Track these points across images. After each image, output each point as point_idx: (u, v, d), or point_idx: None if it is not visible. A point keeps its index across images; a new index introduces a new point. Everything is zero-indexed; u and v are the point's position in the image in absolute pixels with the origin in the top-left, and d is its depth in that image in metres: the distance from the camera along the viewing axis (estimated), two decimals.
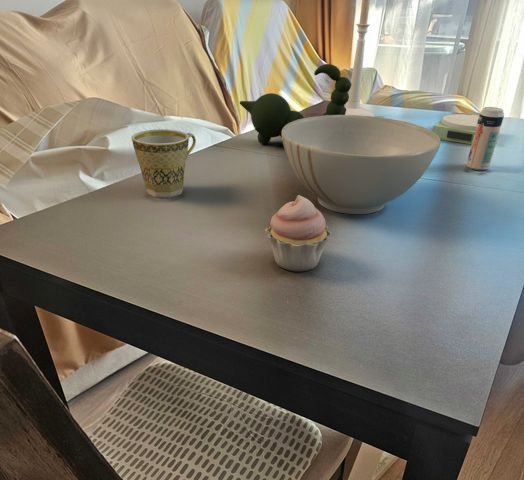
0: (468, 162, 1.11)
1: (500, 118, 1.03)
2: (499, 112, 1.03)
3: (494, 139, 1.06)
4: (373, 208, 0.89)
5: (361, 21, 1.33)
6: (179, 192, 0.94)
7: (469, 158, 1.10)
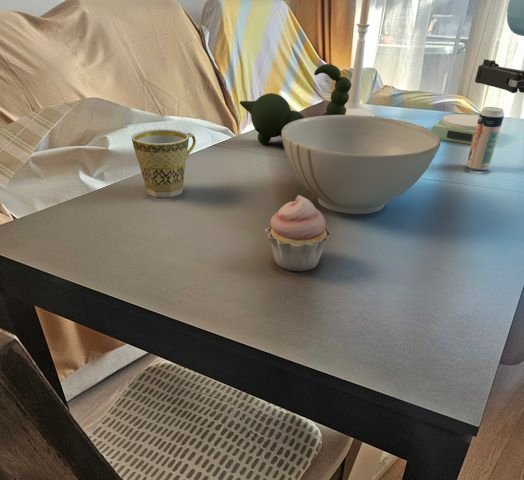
0: (468, 162, 1.11)
1: (500, 118, 1.03)
2: (499, 112, 1.03)
3: (494, 139, 1.06)
4: (373, 208, 0.89)
5: (361, 21, 1.33)
6: (179, 192, 0.94)
7: (469, 158, 1.10)
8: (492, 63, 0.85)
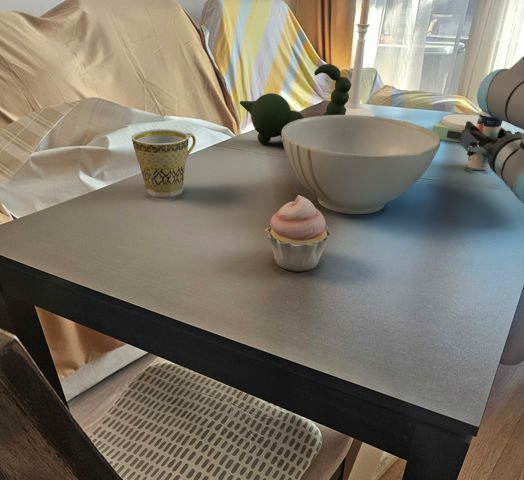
0: (468, 162, 1.11)
1: None
2: None
3: None
4: (373, 208, 0.89)
5: (361, 21, 1.33)
6: (179, 192, 0.94)
7: (469, 158, 1.10)
8: (472, 128, 1.05)
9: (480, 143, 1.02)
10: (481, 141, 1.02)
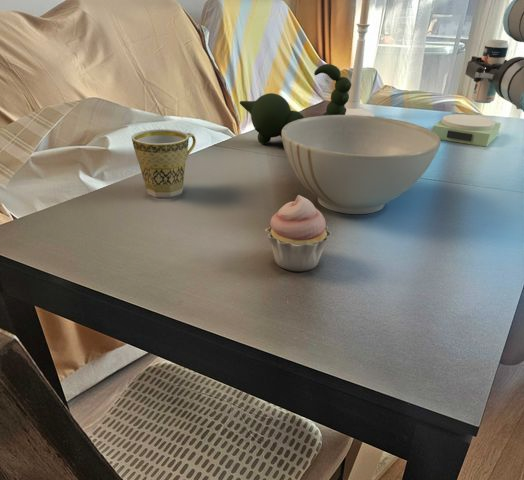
0: (474, 95, 1.15)
1: (505, 49, 1.08)
2: (504, 43, 1.07)
3: None
4: (373, 208, 0.89)
5: (361, 21, 1.33)
6: (179, 192, 0.94)
7: (475, 91, 1.15)
8: (478, 59, 1.10)
9: (486, 72, 1.07)
10: (487, 70, 1.06)
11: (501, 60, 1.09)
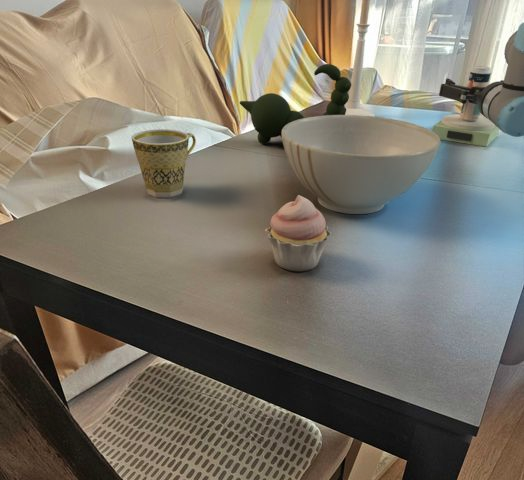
0: (461, 115, 1.30)
1: (487, 75, 1.23)
2: (487, 69, 1.22)
3: None
4: (373, 208, 0.89)
5: (361, 21, 1.33)
6: (179, 192, 0.94)
7: (462, 111, 1.29)
8: (450, 82, 1.22)
9: None
10: None
11: (484, 84, 1.24)
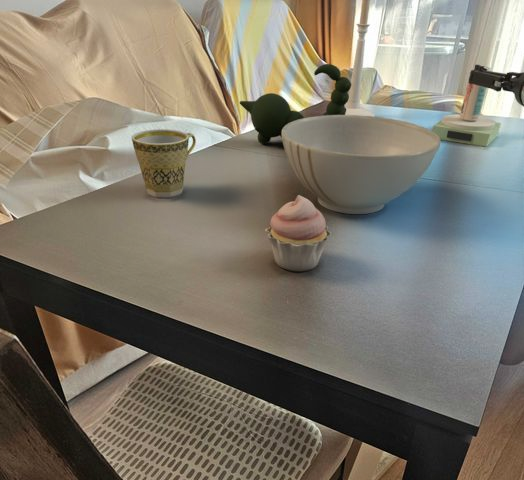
0: (461, 115, 1.30)
1: None
2: (487, 69, 1.22)
3: (483, 93, 1.25)
4: (373, 208, 0.89)
5: (361, 21, 1.33)
6: (179, 192, 0.94)
7: (462, 111, 1.29)
8: (481, 68, 1.09)
9: None
10: None
11: None
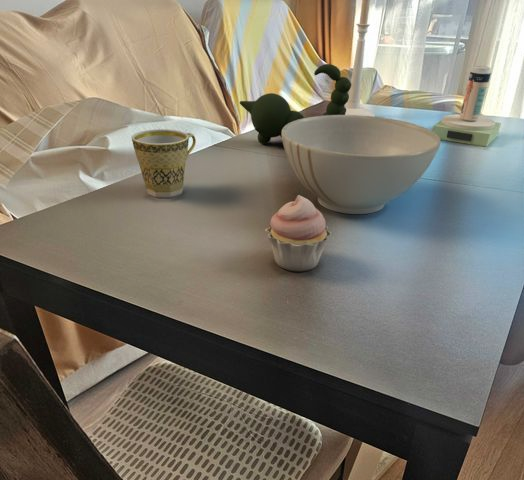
0: (461, 115, 1.30)
1: (487, 75, 1.23)
2: (487, 69, 1.22)
3: (483, 93, 1.25)
4: (373, 208, 0.89)
5: (361, 21, 1.33)
6: (179, 192, 0.94)
7: (462, 111, 1.29)
8: None
9: None
10: None
11: (484, 84, 1.24)
